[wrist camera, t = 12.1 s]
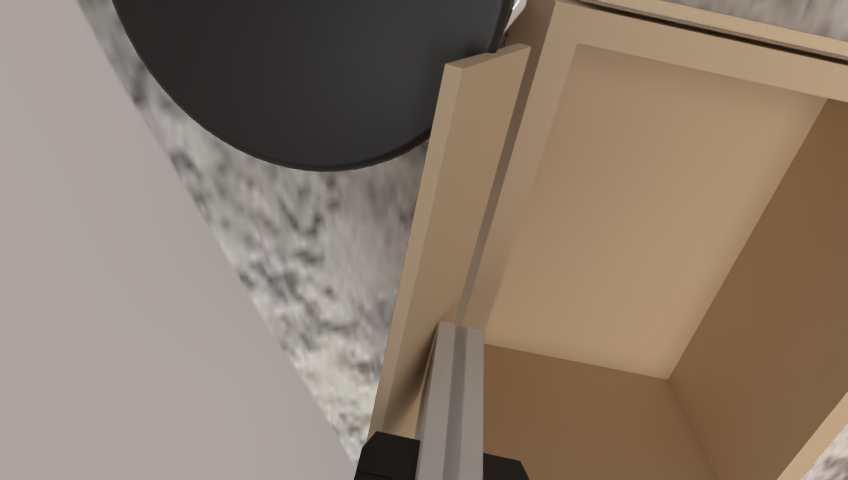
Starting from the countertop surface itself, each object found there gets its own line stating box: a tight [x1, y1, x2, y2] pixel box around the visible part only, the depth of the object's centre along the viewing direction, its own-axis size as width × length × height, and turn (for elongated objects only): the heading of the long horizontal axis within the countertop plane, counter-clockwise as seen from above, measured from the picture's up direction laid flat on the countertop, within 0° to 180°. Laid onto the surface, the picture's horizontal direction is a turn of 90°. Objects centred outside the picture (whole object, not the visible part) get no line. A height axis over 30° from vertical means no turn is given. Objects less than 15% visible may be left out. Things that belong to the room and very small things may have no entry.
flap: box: [367, 43, 531, 441], centre depth 14 cm, size 16×5×1 cm
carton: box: [454, 0, 848, 480], centre depth 21 cm, size 19×14×9 cm
